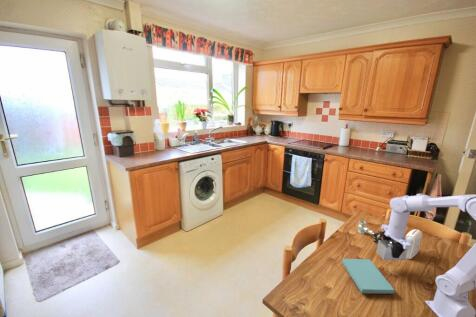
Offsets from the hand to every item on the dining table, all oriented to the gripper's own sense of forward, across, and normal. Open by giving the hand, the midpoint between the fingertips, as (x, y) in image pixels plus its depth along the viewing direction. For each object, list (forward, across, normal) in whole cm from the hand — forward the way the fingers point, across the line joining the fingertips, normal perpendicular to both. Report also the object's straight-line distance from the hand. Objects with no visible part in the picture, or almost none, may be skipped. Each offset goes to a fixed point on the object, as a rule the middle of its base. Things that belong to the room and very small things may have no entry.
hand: (391, 253), depth 92 cm
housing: (+2, 0, 0) cm, 2 cm away
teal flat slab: (+8, +6, -13) cm, 16 cm away
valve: (+8, -24, +5) cm, 26 cm away
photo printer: (+8, -10, +17) cm, 21 cm away
